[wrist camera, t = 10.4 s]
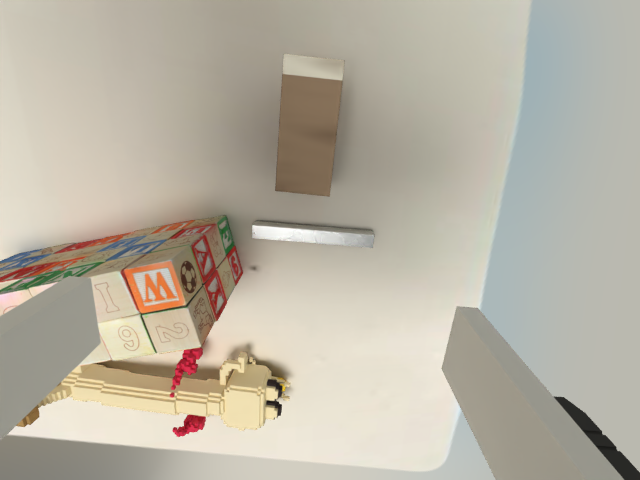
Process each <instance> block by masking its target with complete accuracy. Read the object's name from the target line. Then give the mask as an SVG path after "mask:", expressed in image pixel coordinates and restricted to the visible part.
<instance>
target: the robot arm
mask: <svg viewBox="0 0 640 480" xmlns="http://www.w3.org/2000/svg"><path fill="white" fill-rule="evenodd" d="M100 344H101V341H100V335H99V328H98V322H97V315H96V309H95V302H94V295H93V289H92V282H91V278H89V277H76V276H68V277H66V278H65V279H63V280H61V281H60V282H58V283H56V284H54V285H53V286H51V287H49V288H48V289H46V290H44V291H42V292H41V293H39V294H37V295H36V296H34V297H32V298H30V299H29V300H27V301H25V302H24V303H22V304H20V305H18V306H17V307H15V308H13V309H12V310H10V311H8V312H7V313H5V314H3V315H1V316H0V441H1V439H3V438H4V437H5V436H6V435H7V434H8V433H9V432H10V431H11V430H12V429H13V428H14V427H15V426H16V425H17V424H18V423H19V422H20V421H21V420H22V419H23V418H24V417H25V416H26V415H27V414H28V413H29V412H31V411H32V410H33V409H34V408H35V407H36V406H37V405H38V404H39V403H40V402H41V401H42V400H43V399H44V398H45V397H46V396H47V395H48V394H49V393H50V392H51V391H52V390H53V389H54V388H55V387H56V386H57V385H58V384H59V383H60V382H61V381H62V380H63V379H64V378H66V377H67V376H68V375H69V374H70V373H71V372H72V371H73V370H74V369H75V368H76V367H77V366H78V365H79V364H80V363H81V362H82V361H83V360H84V359H85V358H86V357H87V356H88V355H89V354H90V353H91V352H92V351H93V350H94V349H95V348H96V347H97V346H98V345H100ZM442 371H443V373H444V375H445V377H446V379H447V381H448V383H449V385H450V387H451V389H452V391H453V393H454V395H455V397H456V399H457V401H458V403H459V405H460V408H461V410H462V412H463V413H464V416H465V418H466V420H467V422H468V424H469V426H470V428H471V430H472V432H473V434H474V436H475V438H476V440H477V442H478V444H479V446H480V448H481V450H482V452H483V455H484V456H485V459H486V460H487V463H488V465H489V467H490V469H491V471H492V473H493V475H494V477H495V479H496V480H640V472H639V471H638V470H637V469H636V468H635V467H634V466H633V465H632V464H631V463H630V461H629V460H628V459H627V458H626V457H625V456H624V455H623V454H622V453H621V452H620V451H617V449H616V446H615V445H614V444H613V443H612V442H611V441H610V440H609V439H608V437H607V436H606V435H603V434H602V431H601V430H600V429H599V428H598V427H597V425H595V424H594V422H593V421H592V420H591V419H590V418H589V417H588V416H587V415H586V413H584V412H583V411H582V410H580V409H579V408H577V407H576V406H575V405H574V404H572V403H571V402H569V401H568V400H567V399H565V398H564V397H553V396H552V395H551V393H550V392H549V391H548V390H547V389H546V387H545V386H544V385H543V384H542V383H541V382H540V380H539V379H538V378H537V377H536V376H535V375H534V373H533V372H532V371H531V370H530V369H529V368H528V366H527V365H526V364H525V363H524V362H523V361H522V359H521V358H520V357H519V356H518V355H517V354H516V353H515V351H514V350H513V349H512V348H511V346H510V345H509V344H508V343H507V342H506V341H505V339H504V338H503V337H502V336H501V335H500V334H499V333H498V331H497V330H496V329H495V328H494V327H493V325H492V324H491V323H490V322H489V321H488V320H487V318H486V317H485V316H484V315H483V314H482V312H481V311H480V310H479V309H478V308H471V307H458V306H457V308H456V312H455V316H454V320H453V324H452V328H451V332H450V336H449V341H448V345H447V349H446V353H445V357H444V361H443V365H442Z"/></svg>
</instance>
